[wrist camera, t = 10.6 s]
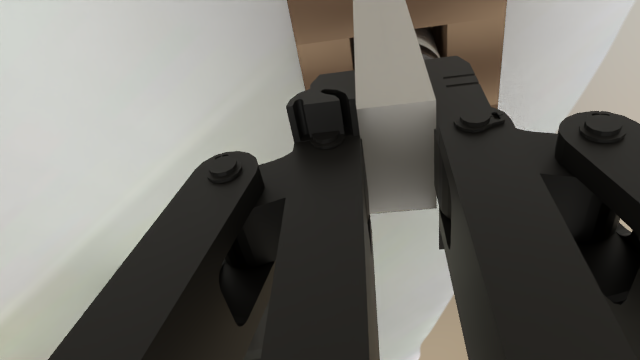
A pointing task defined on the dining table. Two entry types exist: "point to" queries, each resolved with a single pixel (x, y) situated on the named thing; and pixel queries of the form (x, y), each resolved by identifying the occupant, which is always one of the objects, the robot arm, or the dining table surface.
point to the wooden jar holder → (425, 11)
